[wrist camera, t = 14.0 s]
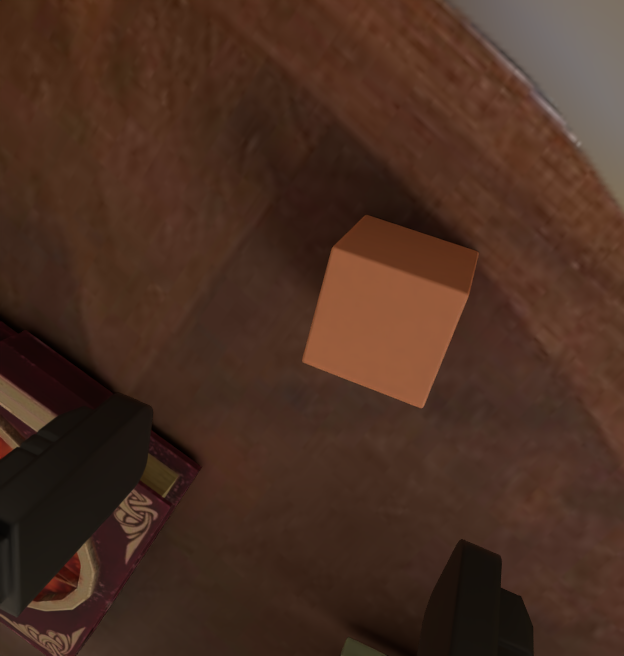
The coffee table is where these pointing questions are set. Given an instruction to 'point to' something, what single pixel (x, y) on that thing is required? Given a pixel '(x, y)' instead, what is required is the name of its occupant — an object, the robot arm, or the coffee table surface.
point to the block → (389, 308)
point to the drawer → (358, 649)
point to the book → (116, 531)
